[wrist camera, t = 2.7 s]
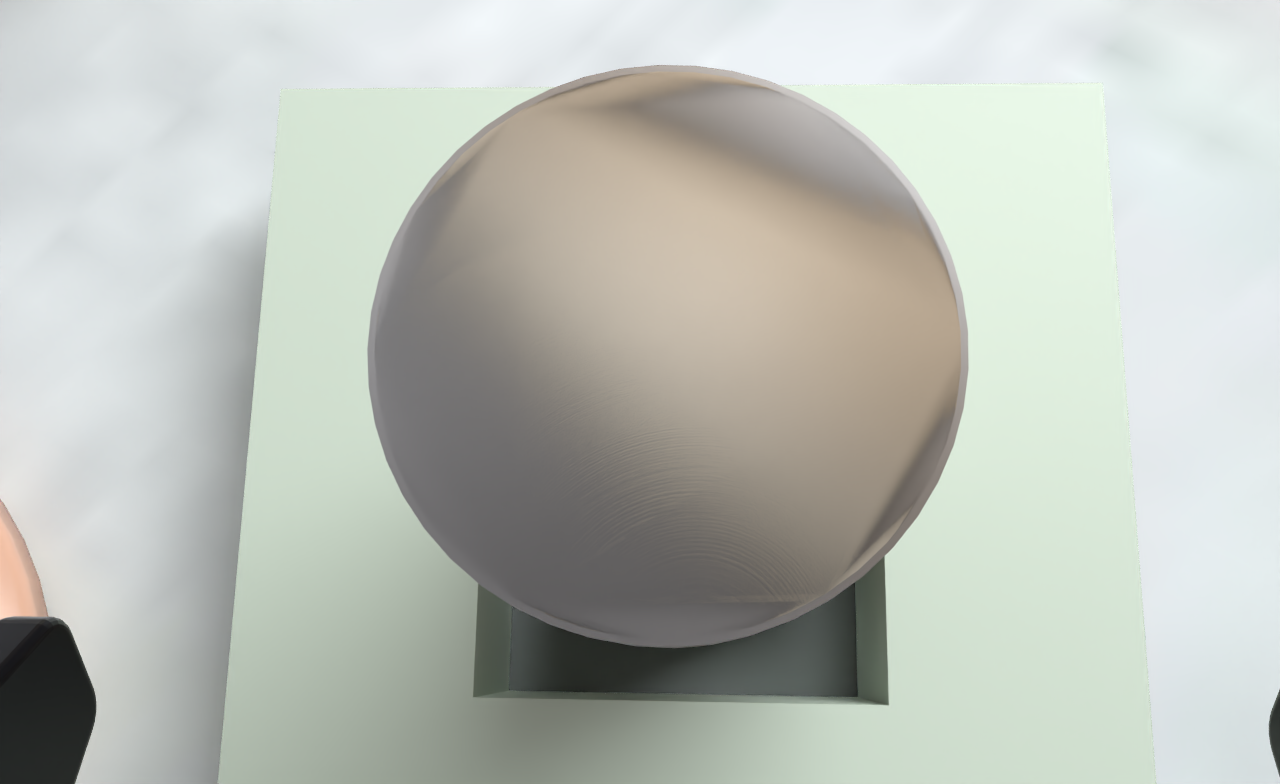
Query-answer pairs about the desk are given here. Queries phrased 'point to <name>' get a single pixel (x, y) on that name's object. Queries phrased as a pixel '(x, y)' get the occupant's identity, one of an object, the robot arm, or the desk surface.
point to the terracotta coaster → (17, 573)
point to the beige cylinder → (668, 356)
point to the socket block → (885, 596)
